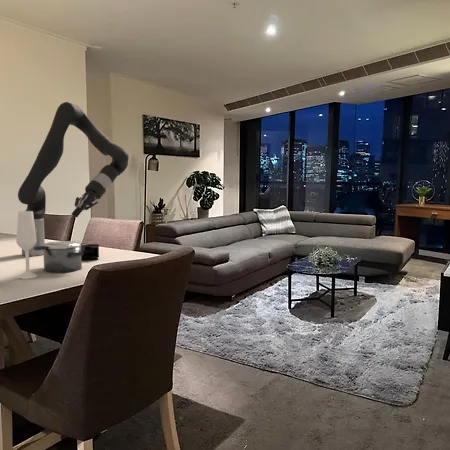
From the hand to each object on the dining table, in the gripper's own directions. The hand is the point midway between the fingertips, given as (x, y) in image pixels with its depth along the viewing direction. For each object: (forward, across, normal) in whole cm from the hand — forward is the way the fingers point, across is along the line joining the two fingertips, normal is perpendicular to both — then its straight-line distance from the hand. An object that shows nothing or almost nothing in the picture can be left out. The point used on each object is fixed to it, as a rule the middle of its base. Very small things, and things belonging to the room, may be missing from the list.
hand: (73, 215), depth 163 cm
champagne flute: (+30, +2, 0) cm, 30 cm away
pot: (+19, 0, +11) cm, 22 cm away
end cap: (+6, -11, +24) cm, 27 cm away
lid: (+14, 0, +3) cm, 14 cm away
